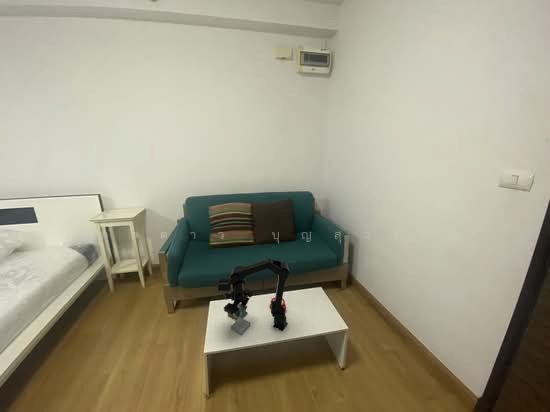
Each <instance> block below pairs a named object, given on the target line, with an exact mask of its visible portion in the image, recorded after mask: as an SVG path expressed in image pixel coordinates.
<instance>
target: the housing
mask: <svg viewBox="0 0 550 412" xmlns="http://www.w3.org/2000/svg"><path fill="white" fill-rule="evenodd" d="M238 308H240V309H239V314H238V318H240V319H245V317H247V316H248V312H247V309H248V306H247V305H246V306H245V305H243V304H241V303H239V304H238ZM233 315H234V316H236V315H235V313H234V314H233ZM236 317H237V316H236Z"/></svg>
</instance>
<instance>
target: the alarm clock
mask: <svg viewBox="0 0 550 412" xmlns="http://www.w3.org/2000/svg"><path fill="white" fill-rule="evenodd" d="M271 300H272V301H274V300H275V297H273V298H271ZM271 303H272V302H271V301H270V304H269V309H270V310H271ZM286 306H287V305H286V301H285V299H284V298H283V297H282V307H284V308H285V312H287V307H286Z"/></svg>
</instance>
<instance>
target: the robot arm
mask: <svg viewBox="0 0 550 412" xmlns="http://www.w3.org/2000/svg"><path fill="white" fill-rule="evenodd" d="M288 265H289V264H288V263H286V262H282V261H280V260H276V259H271V258H267V259H264V260H261V261H259V262H255V263H252V264H249V265H246V266H245V265H244V266H243V265H240V266H235V267H233V269H232V270H231V274H229V278H219V279H218V283H217V284H218V286H217V291H218V292H219V293H221V292H225V293H223V299H224V300H231V301H233V302H232V303H231V302H228V303H227V304H225V306H223V311H224V312H225V313H227V314H228V313H229V314H234V313H235V315H236V316H237V317H238V314H239V309H240V308H238V304H239V303H240V304H243V305H245V306H247V304H248V303H249V301H250V300H251V298H252V297H253V296H254V295H253V294H254V292H253V290H250V289H248V288H244V285H245V284H246V283H247V277H249V276H250V275H253V274H256V273H260V272H263V271H267V270H270V271H271V272H273V273H274V274H276V275H277V277H278V279H277V284H276V291H275V297H274V298H275V300H274V301H272V299H271V300H270V304H271V309H270V314H271V316H272V318H273V328H274V329H277V330H279V331H281V332H283V331H284V330H285V328H286V327H287V326H288V322H287V315H286V311H285V308H284V307H282V298H283V297H284V291H285V284H286V281H287V279H288V278H289V275H290V269H289V266H288ZM271 302H272V303H271Z"/></svg>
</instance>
